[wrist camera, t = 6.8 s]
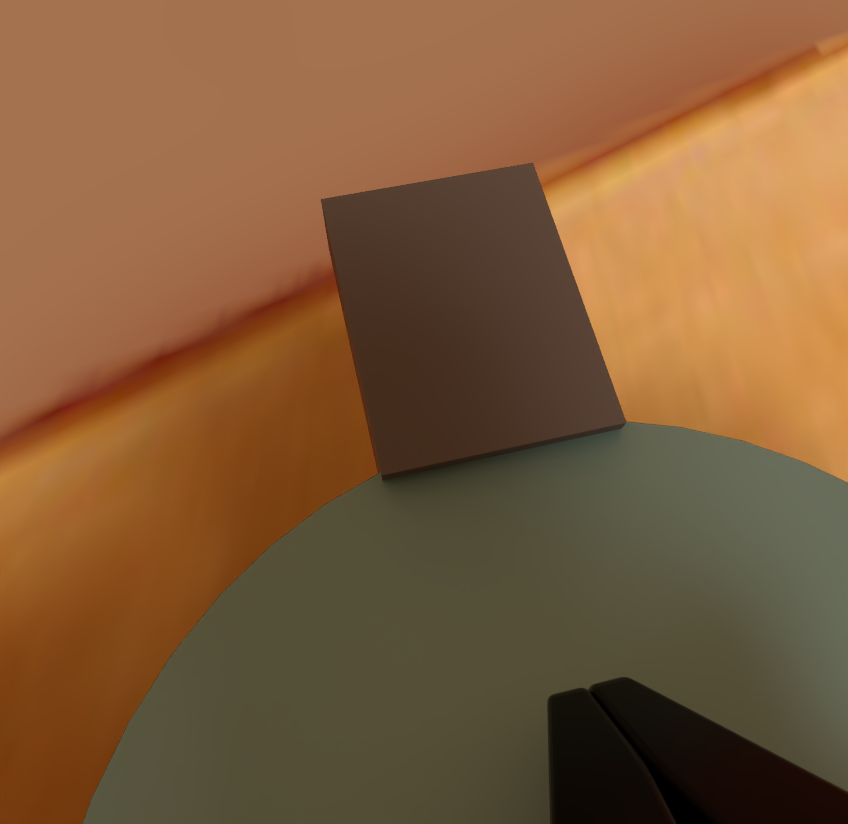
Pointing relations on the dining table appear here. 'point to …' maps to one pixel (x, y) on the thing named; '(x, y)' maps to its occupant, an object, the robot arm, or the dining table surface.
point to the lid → (491, 559)
